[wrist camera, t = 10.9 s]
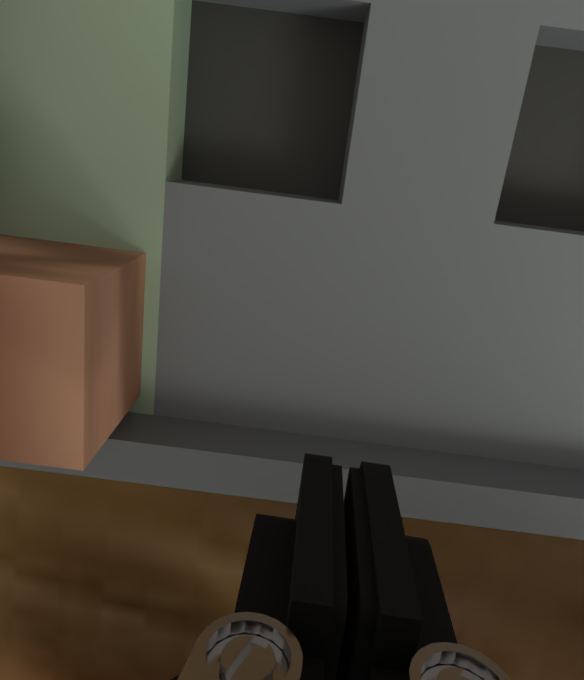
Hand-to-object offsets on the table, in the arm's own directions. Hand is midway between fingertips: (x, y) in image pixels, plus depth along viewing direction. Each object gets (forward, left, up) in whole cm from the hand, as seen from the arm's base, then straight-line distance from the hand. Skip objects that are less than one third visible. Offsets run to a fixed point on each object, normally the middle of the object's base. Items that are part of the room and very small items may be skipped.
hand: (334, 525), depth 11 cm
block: (+9, -1, -8) cm, 12 cm away
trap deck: (-1, -4, -11) cm, 12 cm away
